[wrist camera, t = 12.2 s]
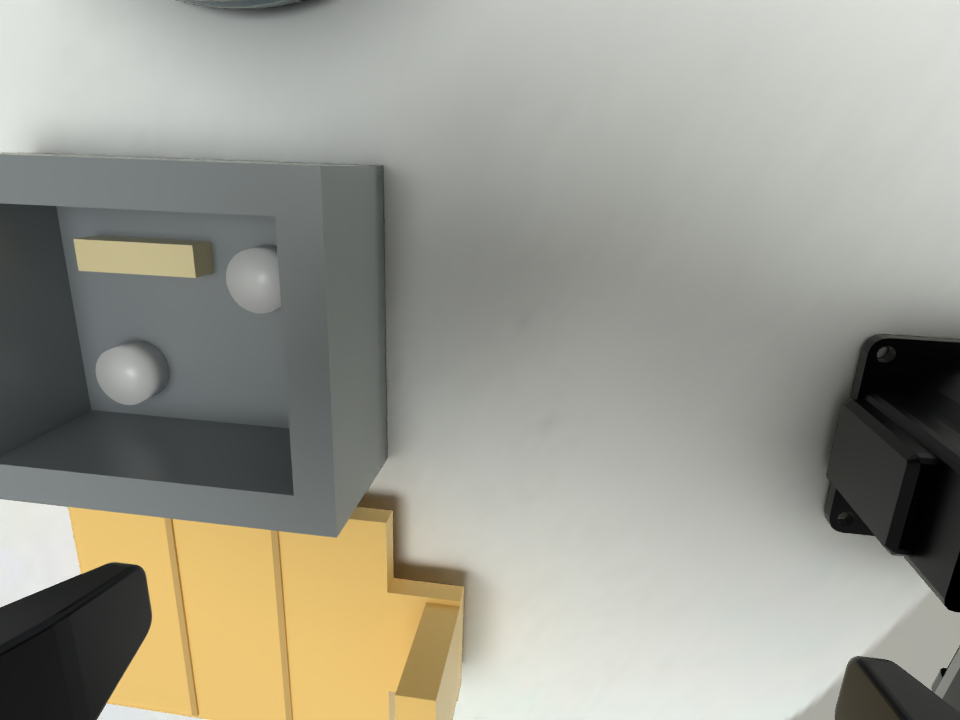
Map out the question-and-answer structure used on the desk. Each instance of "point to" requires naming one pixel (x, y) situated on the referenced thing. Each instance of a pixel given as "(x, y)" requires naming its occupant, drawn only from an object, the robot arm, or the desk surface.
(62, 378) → the parts tub
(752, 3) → the desk surface
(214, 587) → the snap lid
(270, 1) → the canister
